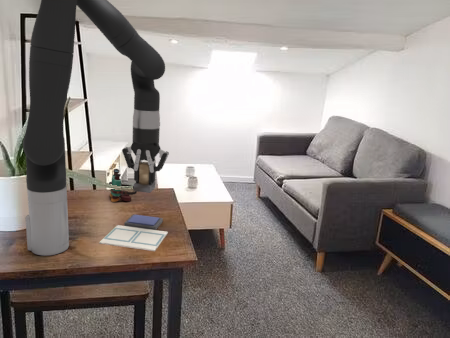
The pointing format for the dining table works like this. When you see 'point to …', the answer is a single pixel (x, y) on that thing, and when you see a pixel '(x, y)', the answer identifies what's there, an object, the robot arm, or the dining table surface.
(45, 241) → the robot arm
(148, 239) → the form board
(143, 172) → the stamp
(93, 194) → the dining table surface
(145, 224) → the ink pad
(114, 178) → the binoculars
